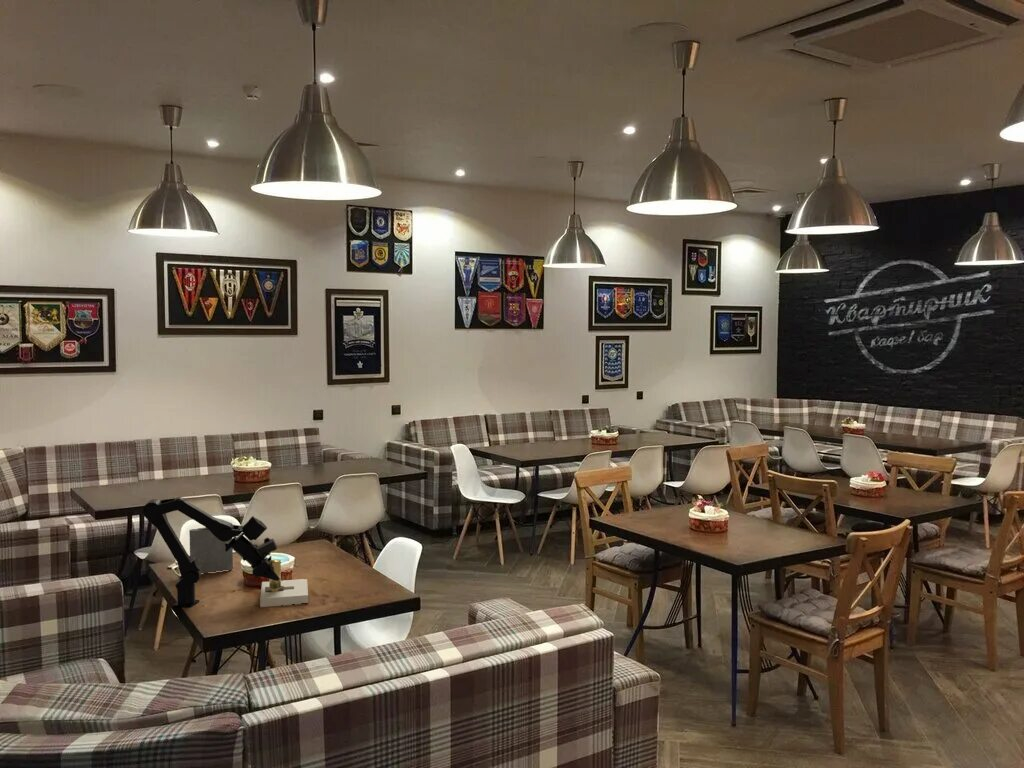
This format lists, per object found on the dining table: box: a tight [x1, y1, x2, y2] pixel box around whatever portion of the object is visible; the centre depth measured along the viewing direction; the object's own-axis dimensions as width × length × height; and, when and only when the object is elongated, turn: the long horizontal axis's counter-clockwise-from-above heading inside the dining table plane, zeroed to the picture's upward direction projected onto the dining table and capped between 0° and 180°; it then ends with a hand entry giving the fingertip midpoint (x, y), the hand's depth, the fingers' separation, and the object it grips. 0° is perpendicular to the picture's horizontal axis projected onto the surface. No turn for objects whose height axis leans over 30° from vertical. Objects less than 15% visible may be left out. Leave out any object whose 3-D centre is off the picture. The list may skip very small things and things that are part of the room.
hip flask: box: [188, 526, 234, 573], centre depth 328 cm, size 16×4×20 cm, turn 114°
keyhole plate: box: [259, 578, 309, 608], centre depth 298 cm, size 16×20×3 cm
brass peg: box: [268, 559, 282, 592], centre depth 297 cm, size 5×5×13 cm
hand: (279, 578), depth 297 cm, fingers closed on brass peg, 4 cm apart
